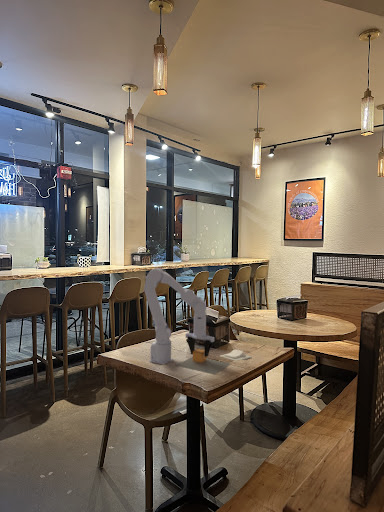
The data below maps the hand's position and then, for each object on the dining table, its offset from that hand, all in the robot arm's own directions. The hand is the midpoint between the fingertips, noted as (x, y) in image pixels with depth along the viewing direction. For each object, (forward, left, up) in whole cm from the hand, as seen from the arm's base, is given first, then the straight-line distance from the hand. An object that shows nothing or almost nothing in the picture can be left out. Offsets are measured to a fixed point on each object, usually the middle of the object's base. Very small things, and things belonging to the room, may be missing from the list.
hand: (199, 354), depth 162 cm
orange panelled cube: (0, 0, -3) cm, 3 cm away
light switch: (+11, +16, -4) cm, 20 cm away
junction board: (+5, -4, -4) cm, 7 cm away
